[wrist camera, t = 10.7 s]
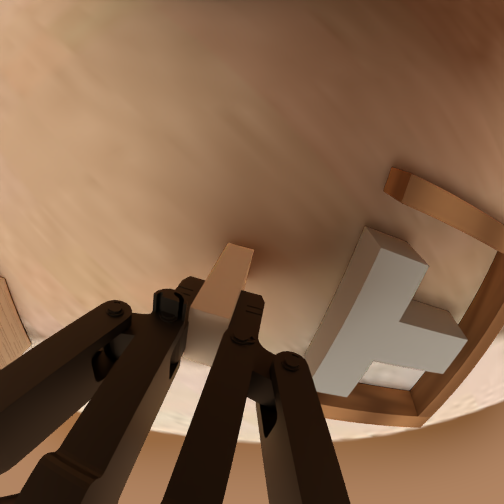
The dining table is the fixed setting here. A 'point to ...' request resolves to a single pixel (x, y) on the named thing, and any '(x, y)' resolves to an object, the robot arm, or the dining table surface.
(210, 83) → the dining table surface
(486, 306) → the dock
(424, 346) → the t block
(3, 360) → the supplement box
